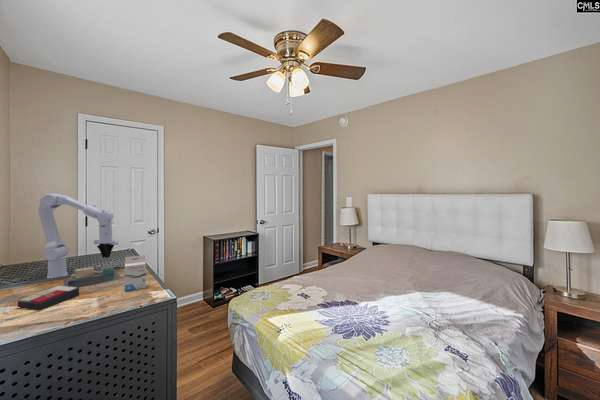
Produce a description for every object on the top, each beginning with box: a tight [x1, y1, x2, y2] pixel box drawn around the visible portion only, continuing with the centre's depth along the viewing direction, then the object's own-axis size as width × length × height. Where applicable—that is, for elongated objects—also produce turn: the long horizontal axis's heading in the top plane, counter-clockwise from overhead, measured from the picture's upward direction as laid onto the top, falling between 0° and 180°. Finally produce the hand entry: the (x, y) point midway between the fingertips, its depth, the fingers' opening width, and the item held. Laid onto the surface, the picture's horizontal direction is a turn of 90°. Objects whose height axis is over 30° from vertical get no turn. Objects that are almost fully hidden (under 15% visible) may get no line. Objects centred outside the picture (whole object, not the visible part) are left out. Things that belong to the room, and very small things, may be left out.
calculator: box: [17, 285, 80, 311], centre depth 108 cm, size 11×4×15 cm
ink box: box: [124, 254, 147, 292], centre depth 123 cm, size 8×5×15 cm, turn 123°
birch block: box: [74, 266, 95, 278], centre depth 132 cm, size 4×7×6 cm, turn 134°
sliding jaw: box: [71, 265, 115, 279], centre depth 138 cm, size 3×18×4 cm, turn 134°
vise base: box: [63, 270, 123, 288], centre depth 134 cm, size 19×22×4 cm
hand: (106, 257), depth 147 cm, fingers closed
